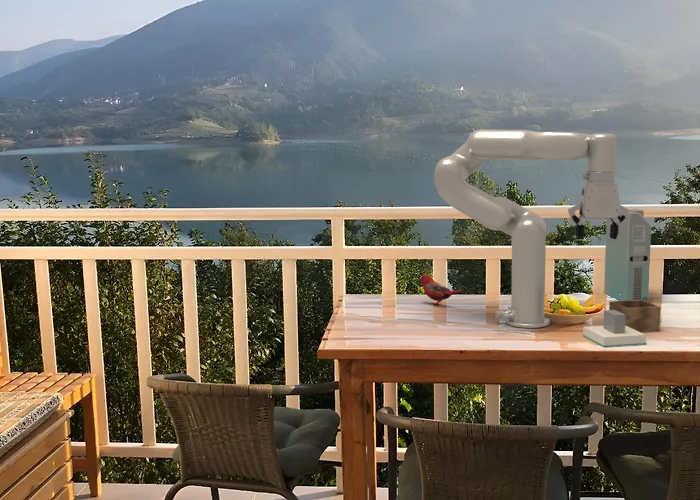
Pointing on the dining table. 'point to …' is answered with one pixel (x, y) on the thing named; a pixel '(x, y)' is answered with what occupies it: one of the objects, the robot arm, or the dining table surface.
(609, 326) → the lid
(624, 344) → the mat
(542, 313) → the robot arm
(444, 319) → the dining table surface
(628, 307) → the box
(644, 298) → the device
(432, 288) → the decorative bird figurine
